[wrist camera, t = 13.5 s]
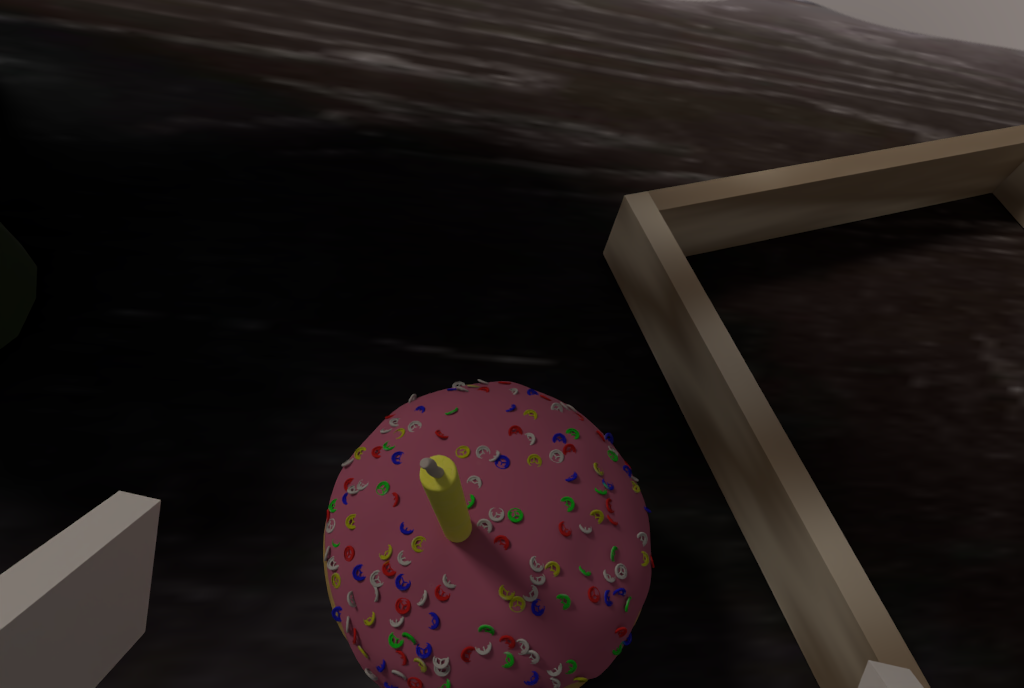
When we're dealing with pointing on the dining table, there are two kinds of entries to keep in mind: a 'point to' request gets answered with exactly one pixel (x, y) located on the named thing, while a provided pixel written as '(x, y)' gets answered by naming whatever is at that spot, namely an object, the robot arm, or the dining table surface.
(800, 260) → the dining table surface
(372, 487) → the cupcake
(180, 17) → the dining table surface
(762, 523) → the birch box
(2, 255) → the character mug
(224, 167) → the dining table surface
